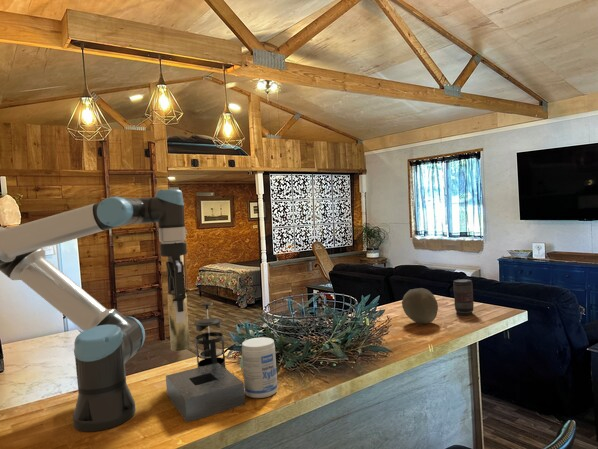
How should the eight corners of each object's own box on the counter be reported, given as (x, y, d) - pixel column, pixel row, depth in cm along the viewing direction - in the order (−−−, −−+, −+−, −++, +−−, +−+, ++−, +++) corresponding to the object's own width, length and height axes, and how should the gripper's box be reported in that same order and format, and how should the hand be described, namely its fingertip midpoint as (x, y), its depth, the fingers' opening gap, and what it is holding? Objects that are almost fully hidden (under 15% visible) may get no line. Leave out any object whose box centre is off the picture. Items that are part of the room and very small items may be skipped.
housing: (186, 422, 109) (185, 399, 109) (167, 395, 127) (165, 375, 126) (245, 404, 117) (243, 382, 117) (219, 381, 135) (217, 362, 134)
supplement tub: (270, 400, 119) (266, 348, 118) (239, 398, 122) (235, 346, 121) (282, 386, 128) (279, 337, 127) (253, 384, 131) (249, 336, 130)
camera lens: (475, 312, 194) (474, 279, 194) (472, 316, 188) (470, 282, 187) (457, 310, 199) (455, 278, 198) (452, 315, 192) (451, 281, 191)
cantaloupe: (425, 317, 191) (423, 284, 190) (445, 325, 178) (443, 289, 177) (397, 322, 187) (395, 287, 186) (416, 330, 173) (414, 293, 173)
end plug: (173, 352, 125) (169, 293, 124) (169, 347, 130) (165, 290, 129) (191, 348, 127) (187, 290, 127) (187, 343, 132) (183, 287, 131)
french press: (230, 373, 140) (225, 303, 140) (201, 380, 136) (195, 308, 136) (220, 363, 151) (215, 297, 150) (193, 368, 147) (188, 302, 146)
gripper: (193, 242, 121) (199, 324, 122) (179, 239, 137) (184, 312, 138) (165, 244, 117) (171, 329, 118) (154, 241, 134) (159, 316, 135)
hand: (178, 320), depth 128 cm, fingers closed on end plug, 5 cm apart
